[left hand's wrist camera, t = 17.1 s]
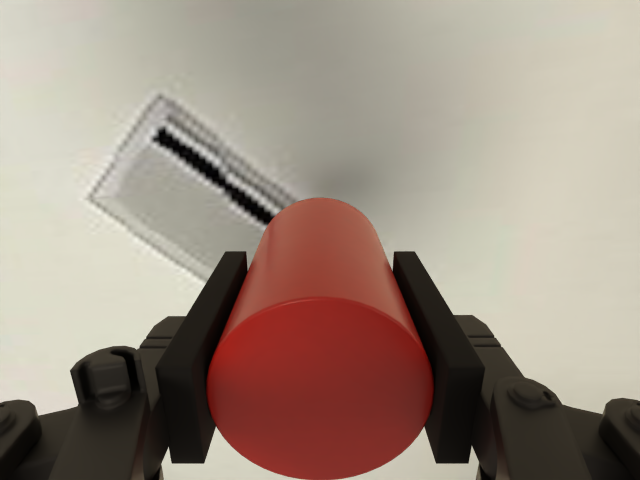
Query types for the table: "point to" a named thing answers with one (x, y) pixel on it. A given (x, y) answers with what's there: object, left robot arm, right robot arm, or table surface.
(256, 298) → the can
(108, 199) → the table surface
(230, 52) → the table surface
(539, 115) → the table surface
